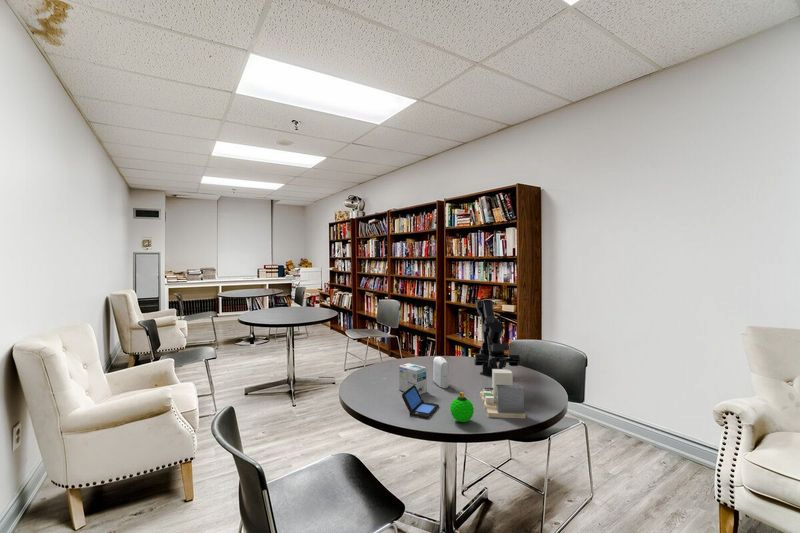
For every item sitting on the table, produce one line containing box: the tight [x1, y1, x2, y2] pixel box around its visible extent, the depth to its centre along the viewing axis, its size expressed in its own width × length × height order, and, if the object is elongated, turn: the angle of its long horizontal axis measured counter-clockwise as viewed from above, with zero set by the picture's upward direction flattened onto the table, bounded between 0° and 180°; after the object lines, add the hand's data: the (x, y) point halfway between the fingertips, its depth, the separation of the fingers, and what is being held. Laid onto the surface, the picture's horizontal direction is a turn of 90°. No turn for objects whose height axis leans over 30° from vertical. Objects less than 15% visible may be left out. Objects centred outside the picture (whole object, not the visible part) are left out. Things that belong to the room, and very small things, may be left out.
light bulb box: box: [398, 362, 428, 396], centre depth 154 cm, size 11×7×11 cm, turn 47°
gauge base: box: [479, 388, 527, 419], centre depth 138 cm, size 22×13×4 cm, turn 175°
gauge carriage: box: [484, 368, 514, 398], centre depth 142 cm, size 8×10×10 cm
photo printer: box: [432, 356, 450, 389], centre depth 162 cm, size 10×4×12 cm, turn 17°
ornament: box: [449, 391, 475, 423], centre depth 124 cm, size 8×8×10 cm
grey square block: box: [496, 384, 525, 413], centre depth 129 cm, size 3×9×9 cm, turn 85°
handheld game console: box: [401, 385, 440, 420], centre depth 134 cm, size 12×11×7 cm
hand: (499, 378), depth 148 cm, fingers closed
